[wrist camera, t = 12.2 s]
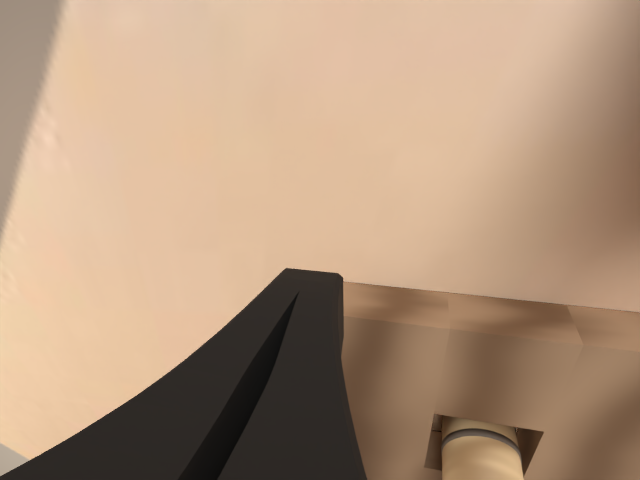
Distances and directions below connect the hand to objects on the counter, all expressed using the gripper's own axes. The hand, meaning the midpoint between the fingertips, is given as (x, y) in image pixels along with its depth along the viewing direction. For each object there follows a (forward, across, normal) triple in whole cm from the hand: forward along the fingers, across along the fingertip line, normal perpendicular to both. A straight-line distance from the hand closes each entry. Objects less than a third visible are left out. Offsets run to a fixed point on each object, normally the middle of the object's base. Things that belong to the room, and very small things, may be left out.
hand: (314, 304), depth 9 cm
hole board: (+9, -7, +16) cm, 20 cm away
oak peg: (+9, -7, +16) cm, 20 cm away
